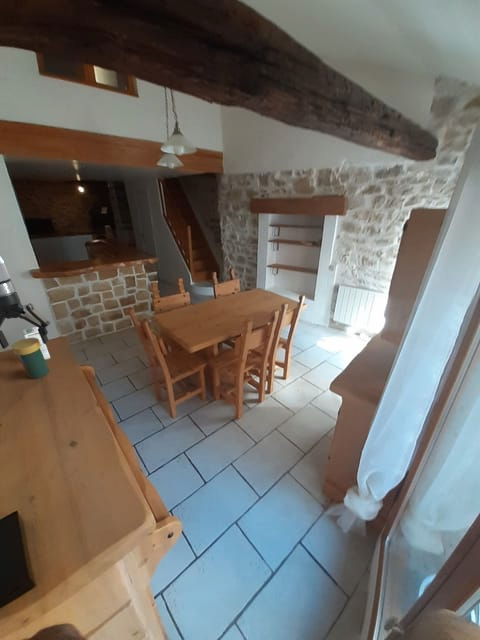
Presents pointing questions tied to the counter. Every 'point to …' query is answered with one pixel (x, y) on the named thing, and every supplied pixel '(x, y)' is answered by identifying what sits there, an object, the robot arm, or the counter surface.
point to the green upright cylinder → (34, 364)
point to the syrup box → (35, 334)
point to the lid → (26, 346)
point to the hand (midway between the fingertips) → (26, 344)
